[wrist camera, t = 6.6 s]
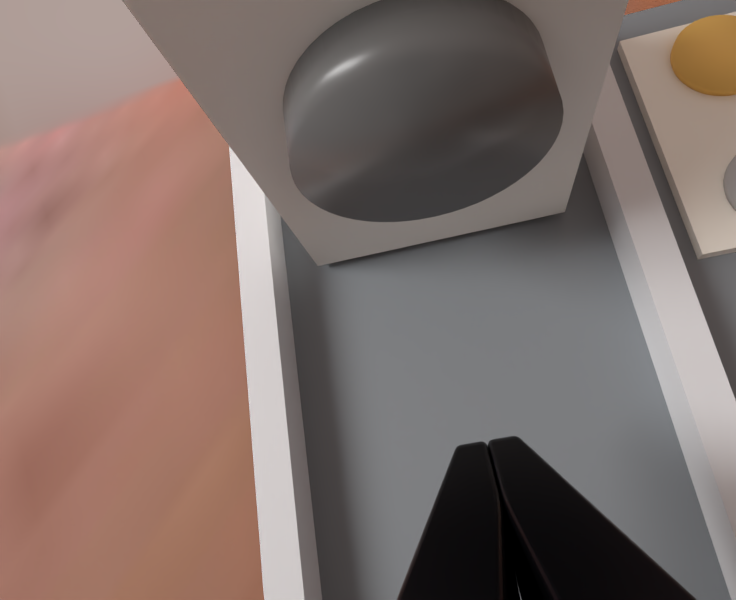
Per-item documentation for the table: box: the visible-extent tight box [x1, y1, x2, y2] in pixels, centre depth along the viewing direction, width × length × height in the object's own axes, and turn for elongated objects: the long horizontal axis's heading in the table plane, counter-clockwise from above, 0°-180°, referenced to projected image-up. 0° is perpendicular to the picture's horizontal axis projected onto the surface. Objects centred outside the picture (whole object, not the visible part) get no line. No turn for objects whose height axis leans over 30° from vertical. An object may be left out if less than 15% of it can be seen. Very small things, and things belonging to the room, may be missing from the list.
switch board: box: [229, 0, 736, 600], centre depth 12 cm, size 18×15×3 cm
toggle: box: [123, 0, 628, 266], centre depth 10 cm, size 6×6×10 cm
